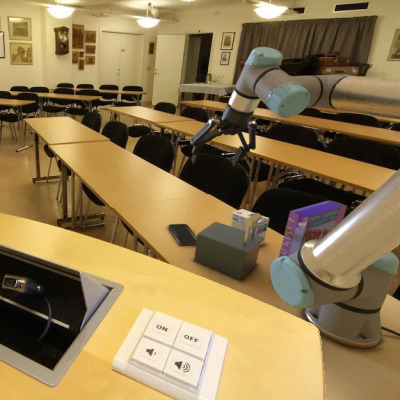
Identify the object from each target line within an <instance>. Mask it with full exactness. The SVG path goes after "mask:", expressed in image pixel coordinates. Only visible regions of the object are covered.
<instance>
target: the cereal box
mask: <svg viewBox="0 0 400 400" xmlns="http://www.w3.org/2000/svg"><path fill="white" fill-rule="evenodd" d="M347 208H348V205H346V204H343V203H341V202H339V201H335V200H331V199H329V200H325V201H322V202H319V203H315V204H311V205H308V206H307V205H306V206H304V207H301V208H300V207H299V208H296V209H292V210H290V211H289V215H288V217H287V222H286V226H285V230H284V235H283V237H282V238H283V239H282V243H281V247H280V250H279V254H278V258H279V257H281V256H290V255H292V254H294V253H295V252H296V251H297V250H298V249H299V248H300V247H301V246H302V245H303V244H305V243H306V242H308V241H310V240H314V239H318V240H321V239H322V238H323V237H324V236H325V235H326V234H328V233H329V232H330V231H331V230H332V229H333V228H334V227H335V226H336V225H338V224H339V223H340V222H341V221H342V220H343V219H344V218H345V214H346V210H347Z"/></svg>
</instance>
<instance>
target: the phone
mask: <svg viewBox="0 0 400 400" xmlns="http://www.w3.org/2000/svg"><path fill="white" fill-rule="evenodd" d="M168 229H169V231H170V233H171V234H172V236H173V237H174V239H175V241H176V242H177V243H178V245H179V246H192V245H194V246H195V245H196V242H197V235H196V234H195V233H194V232H193V229H191V227H190V226H189V225H188V223H172V224H171V223H170V224H168Z"/></svg>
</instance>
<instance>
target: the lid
mask: <svg viewBox="0 0 400 400" xmlns="http://www.w3.org/2000/svg"><path fill="white" fill-rule="evenodd" d="M254 213H255V214H254V215H252V216H251V217H250V218H249V219H247V220H246V221H245V225H246V226H247V228H246V231H243V230H240V229H237V228H234V227H231V225H227V224H224V223H221V222H218V221H214V222H213V223H211V224H210V225H208V226H206V227H205V228H204V229H202V230H201V231H200V232H197V235H196V237H197V236H200V237H202V238H205V239H208V240H211V241H213V242H216V243H219V244H222V245H224V246H227V247H230V248H232V249H235V250H238V251H241V252H243V253H246V254H249V253H250V252H251V251H252V250H254V249H255V248H256V247H257V246H258V245H259V244H260V243H261V242H262V241H263V240H264V238H265V239H266V236H265V237H262V236H259V235H256V234H255V231H256V226H257V222H258V220H260V219H261V216H262V215H261V214H260V213H259V212H254ZM252 225H254V226H253V231H252V233H250V232H249V229H250V227H251V226H252Z"/></svg>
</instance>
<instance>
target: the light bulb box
mask: <svg viewBox="0 0 400 400" xmlns="http://www.w3.org/2000/svg"><path fill="white" fill-rule="evenodd" d="M255 213H256V212H252V211H249V210H246V209H244V208H241V209H238V210H236V211H234V212H232V214H231V219H230V220H231V221H230V226H231V227H234V228H237V229H240V230H243V231H246V228H247V226H246V225H245V221H246V220H247V219H249V218H250V217H251V216H252V215H254V214H255ZM269 223H270V217H267V216H264V215H261V219H260V220H258V222H257V226H256V231H255V234H256V235H259V236H262V237H265V238H264V240H263V241H262V242H261V244H260V246H262V245H264V244H265V240H266V235H267V231H268V227H269ZM253 226H254V225H252V226H251V227H250V229H249V232H250V233H252V231H253Z"/></svg>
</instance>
